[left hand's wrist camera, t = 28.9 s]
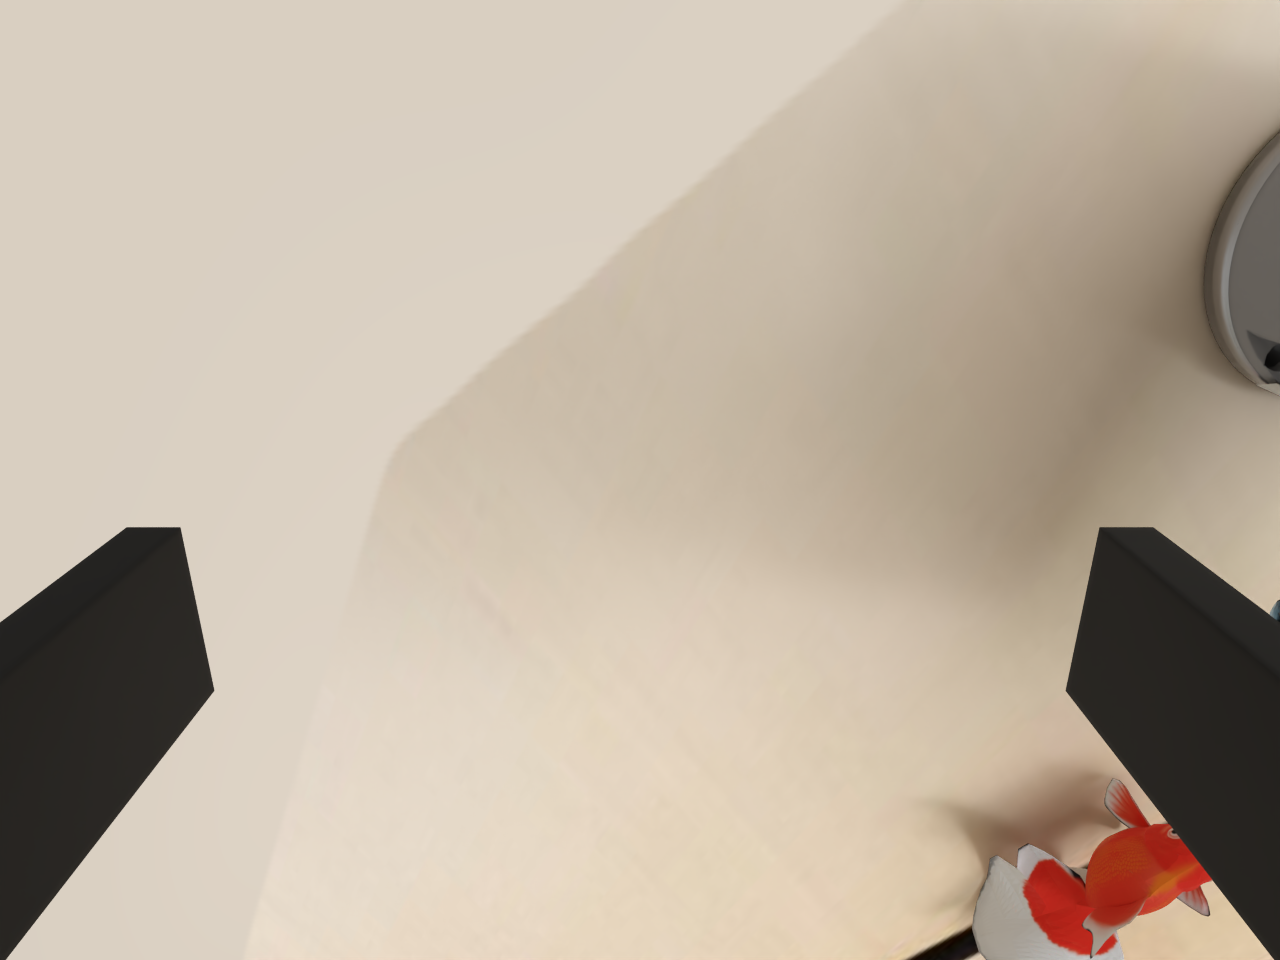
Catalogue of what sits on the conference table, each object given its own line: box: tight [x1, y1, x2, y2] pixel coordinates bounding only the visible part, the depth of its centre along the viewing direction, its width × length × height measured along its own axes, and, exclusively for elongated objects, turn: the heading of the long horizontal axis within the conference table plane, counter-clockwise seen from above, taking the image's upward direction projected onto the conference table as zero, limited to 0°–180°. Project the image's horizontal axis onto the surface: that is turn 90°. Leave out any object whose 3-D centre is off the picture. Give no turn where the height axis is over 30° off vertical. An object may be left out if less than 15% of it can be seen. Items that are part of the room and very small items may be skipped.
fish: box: [972, 779, 1212, 960], centre depth 52 cm, size 11×16×10 cm
